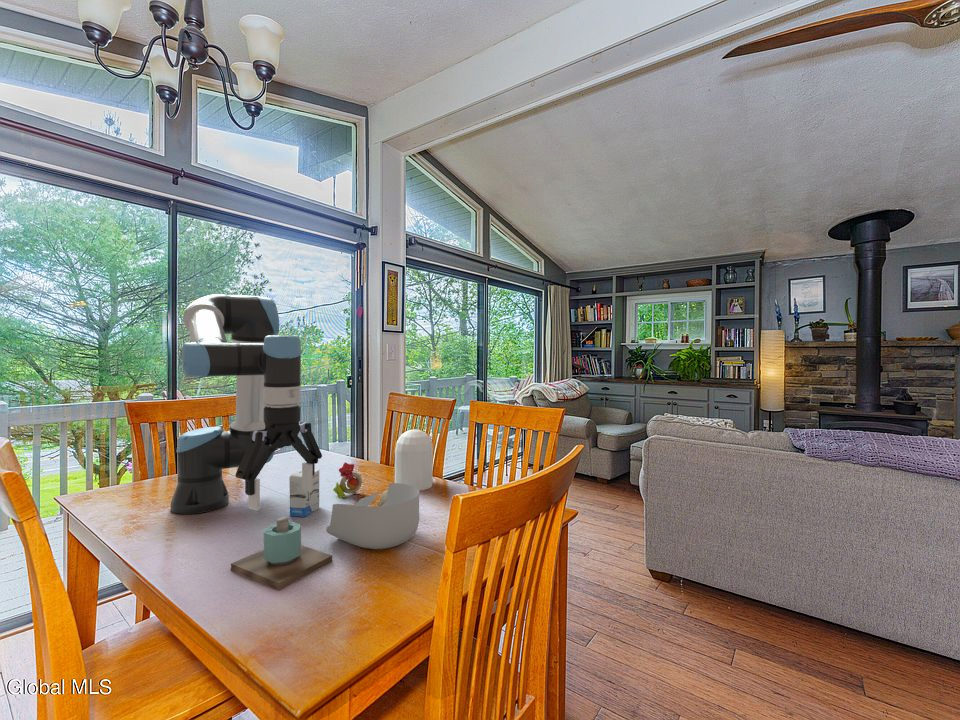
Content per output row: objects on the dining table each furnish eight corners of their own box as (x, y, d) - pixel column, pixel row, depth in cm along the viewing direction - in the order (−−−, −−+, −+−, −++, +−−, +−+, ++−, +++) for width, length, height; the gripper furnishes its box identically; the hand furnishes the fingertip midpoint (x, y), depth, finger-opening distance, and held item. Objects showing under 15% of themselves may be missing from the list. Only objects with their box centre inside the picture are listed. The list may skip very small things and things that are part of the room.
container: (440, 483, 163) (440, 428, 162) (416, 493, 151) (416, 434, 151) (411, 477, 170) (412, 424, 169) (386, 486, 158) (386, 430, 158)
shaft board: (230, 570, 99) (230, 523, 98) (286, 545, 111) (285, 503, 111) (278, 590, 91) (278, 539, 91) (332, 561, 103) (332, 516, 103)
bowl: (381, 564, 102) (381, 512, 102) (323, 544, 112) (323, 497, 112) (434, 533, 120) (434, 489, 119) (380, 518, 130) (380, 477, 129)
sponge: (409, 527, 134) (420, 494, 139) (393, 517, 126) (405, 483, 131) (383, 521, 138) (395, 489, 143) (367, 512, 130) (380, 478, 135)
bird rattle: (350, 497, 153) (325, 491, 148) (362, 465, 155) (339, 458, 150) (357, 502, 148) (333, 497, 143) (370, 470, 150) (346, 463, 145)
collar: (257, 557, 100) (257, 530, 99) (286, 545, 106) (286, 519, 106) (279, 565, 96) (279, 537, 96) (307, 552, 102) (307, 526, 102)
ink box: (304, 517, 129) (304, 477, 129) (288, 516, 130) (288, 475, 130) (320, 507, 138) (320, 469, 137) (305, 505, 139) (305, 468, 138)
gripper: (239, 414, 87) (239, 522, 88) (337, 400, 109) (336, 486, 110) (216, 410, 91) (216, 514, 92) (316, 397, 113) (315, 481, 114)
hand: (282, 499), depth 101 cm, fingers open, 13 cm apart
